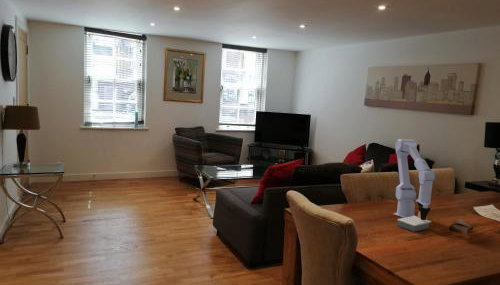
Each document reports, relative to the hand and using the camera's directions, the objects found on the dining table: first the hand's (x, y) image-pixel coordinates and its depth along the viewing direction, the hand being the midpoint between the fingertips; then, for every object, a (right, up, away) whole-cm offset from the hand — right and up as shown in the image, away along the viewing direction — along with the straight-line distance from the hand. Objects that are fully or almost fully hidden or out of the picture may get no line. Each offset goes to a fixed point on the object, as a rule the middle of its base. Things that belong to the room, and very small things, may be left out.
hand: (422, 217), depth 191 cm
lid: (-6, -3, -3) cm, 7 cm away
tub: (-7, -4, -3) cm, 8 cm away
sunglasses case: (+20, -6, -1) cm, 21 cm away
